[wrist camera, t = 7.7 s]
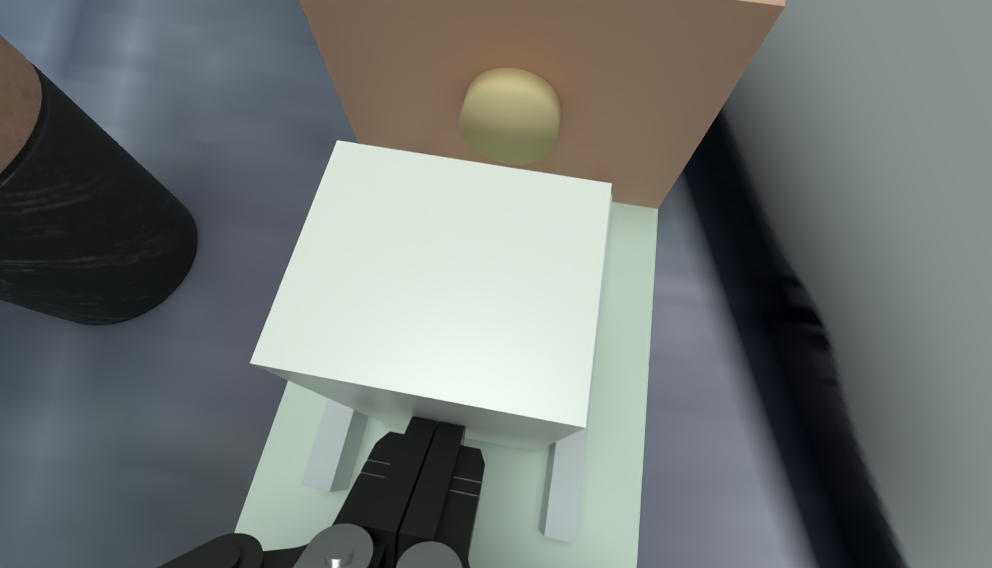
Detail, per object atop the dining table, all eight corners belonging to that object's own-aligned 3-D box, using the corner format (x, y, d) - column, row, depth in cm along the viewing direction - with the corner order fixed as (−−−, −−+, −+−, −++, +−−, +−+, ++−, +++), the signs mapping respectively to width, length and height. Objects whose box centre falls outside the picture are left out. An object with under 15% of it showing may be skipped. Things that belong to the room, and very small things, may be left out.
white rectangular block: (535, 451, 17) (585, 427, 8) (378, 421, 17) (249, 363, 8) (553, 324, 19) (612, 183, 10) (412, 299, 19) (337, 140, 10)
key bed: (617, 672, 16) (865, 1076, 5) (234, 587, 17) (-210, 783, 6) (652, 159, 24) (778, -87, 14) (394, 119, 25) (320, -141, 14)
